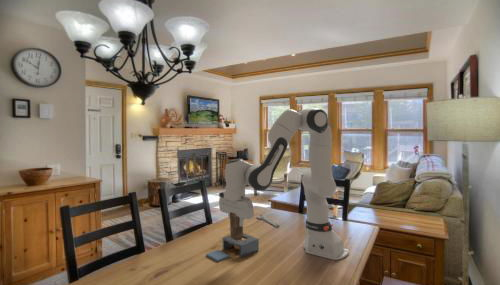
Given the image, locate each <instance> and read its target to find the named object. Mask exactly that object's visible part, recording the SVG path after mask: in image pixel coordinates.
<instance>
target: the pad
mask: <svg viewBox="0 0 500 285" xmlns="http://www.w3.org/2000/svg"><path fill="white" fill-rule="evenodd" d="M205 255H206V257H207V258H209V259H210V260H213V261H215V262H217V263H218V262H221V261H223V260H226V259H229V258H230V254H228V253H225V252H223V251H221V250H219V249H215V250H213V251H210V252H208V253H206V254H205Z"/></svg>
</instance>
